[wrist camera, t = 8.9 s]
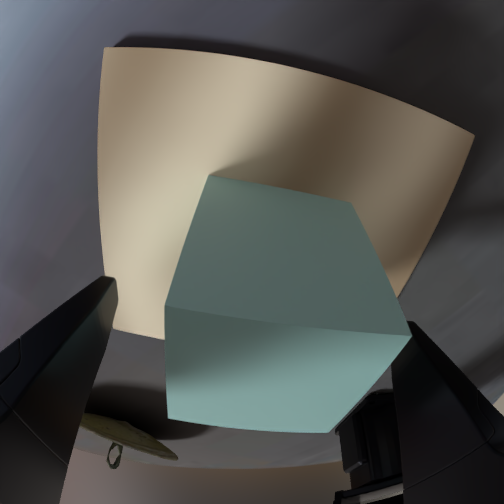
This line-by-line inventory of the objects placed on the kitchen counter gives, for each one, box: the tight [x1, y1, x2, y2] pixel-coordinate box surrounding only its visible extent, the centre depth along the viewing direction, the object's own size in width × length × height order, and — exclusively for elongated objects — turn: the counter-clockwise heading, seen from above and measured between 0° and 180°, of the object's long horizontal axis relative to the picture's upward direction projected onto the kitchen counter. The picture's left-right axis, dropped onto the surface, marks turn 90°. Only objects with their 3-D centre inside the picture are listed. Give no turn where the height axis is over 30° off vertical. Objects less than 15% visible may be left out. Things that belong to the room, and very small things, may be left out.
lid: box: [79, 413, 178, 469], centre depth 21 cm, size 11×10×5 cm
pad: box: [98, 47, 475, 340], centre depth 12 cm, size 13×13×1 cm
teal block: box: [164, 175, 412, 433], centre depth 10 cm, size 5×5×6 cm
